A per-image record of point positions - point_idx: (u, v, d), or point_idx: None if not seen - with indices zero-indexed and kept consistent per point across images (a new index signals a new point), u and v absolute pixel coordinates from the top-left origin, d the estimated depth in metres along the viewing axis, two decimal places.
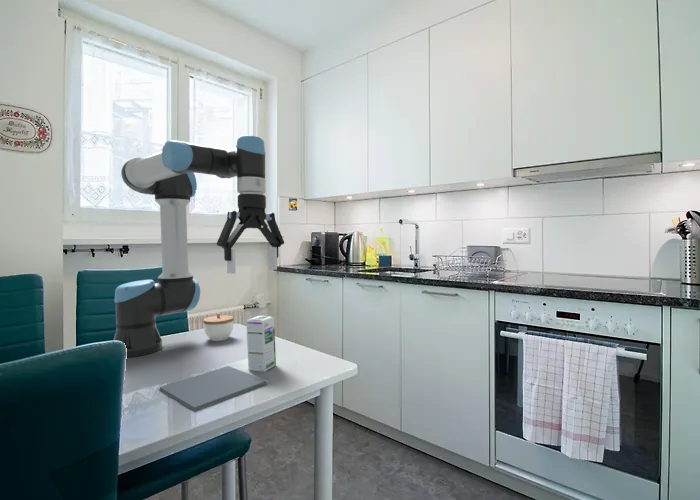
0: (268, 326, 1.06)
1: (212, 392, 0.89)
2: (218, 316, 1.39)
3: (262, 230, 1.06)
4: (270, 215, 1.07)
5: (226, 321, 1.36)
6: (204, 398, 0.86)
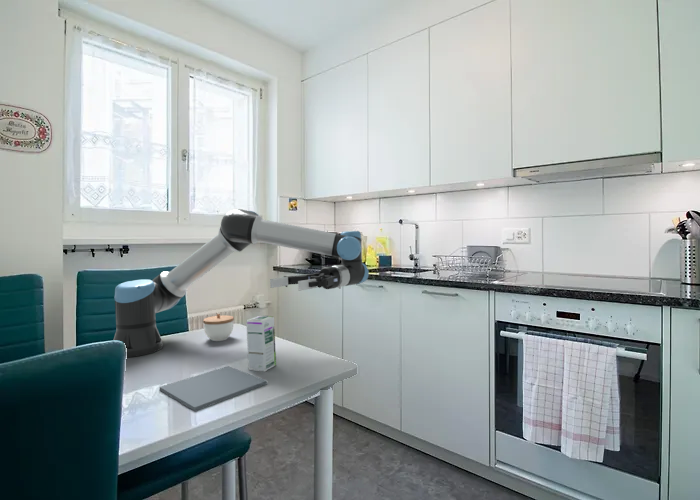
0: (268, 326, 1.06)
1: (212, 392, 0.89)
2: (218, 316, 1.39)
3: (305, 279, 1.24)
4: None
5: (226, 321, 1.36)
6: (204, 398, 0.86)
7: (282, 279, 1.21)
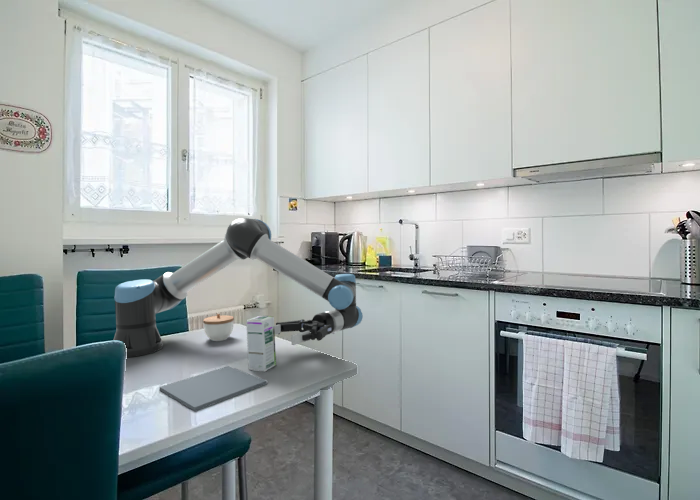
0: (268, 326, 1.06)
1: (212, 392, 0.89)
2: (218, 316, 1.39)
3: (298, 326, 1.21)
4: None
5: (226, 321, 1.36)
6: (204, 398, 0.86)
7: (275, 327, 1.18)
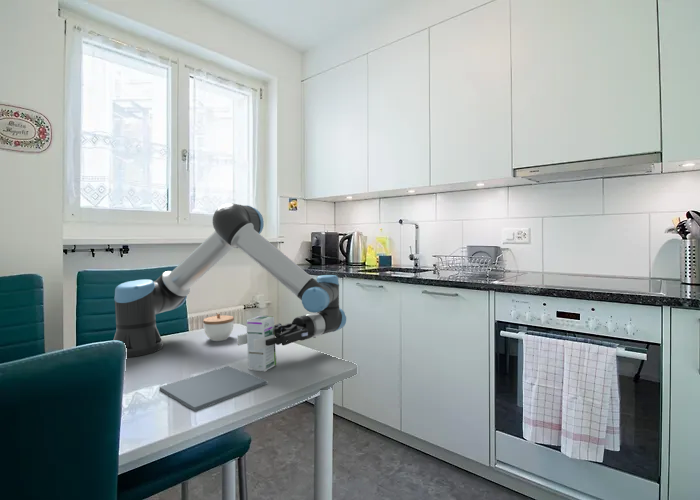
0: (268, 326, 1.06)
1: (212, 392, 0.89)
2: (218, 316, 1.39)
3: (277, 331, 1.14)
4: None
5: (226, 321, 1.36)
6: (204, 398, 0.86)
7: None
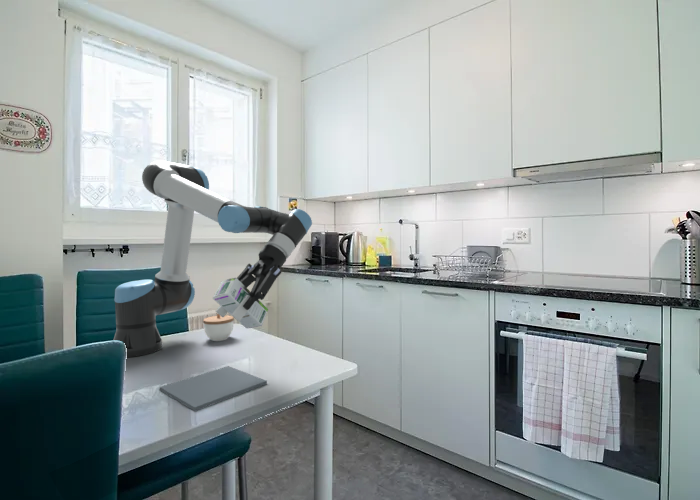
0: (237, 291, 0.97)
1: (212, 392, 0.89)
2: (218, 316, 1.39)
3: (250, 278, 1.06)
4: None
5: (226, 321, 1.36)
6: (204, 398, 0.86)
7: None
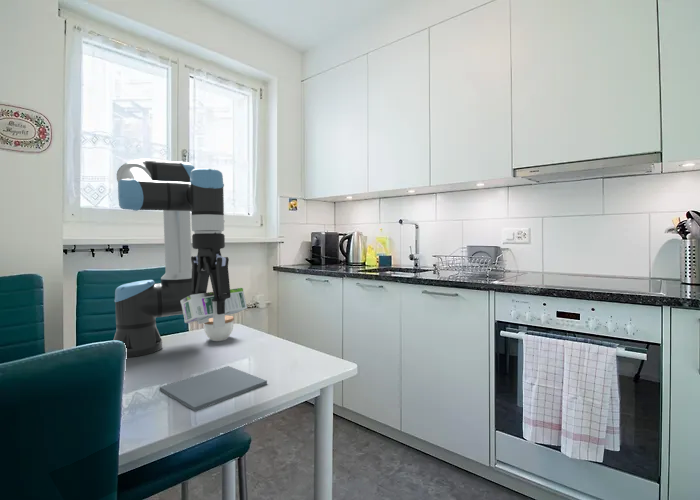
0: (201, 305, 0.89)
1: (212, 392, 0.89)
2: None
3: (204, 274, 0.94)
4: None
5: (226, 321, 1.36)
6: (204, 398, 0.86)
7: None
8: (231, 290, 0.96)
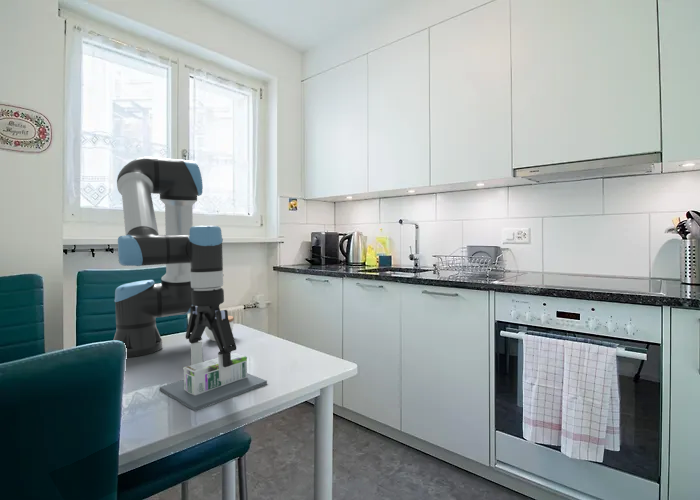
0: (203, 381, 0.88)
1: (212, 392, 0.89)
2: None
3: (201, 326, 0.95)
4: None
5: None
6: (204, 398, 0.86)
7: (194, 352, 0.97)
8: (235, 361, 0.95)
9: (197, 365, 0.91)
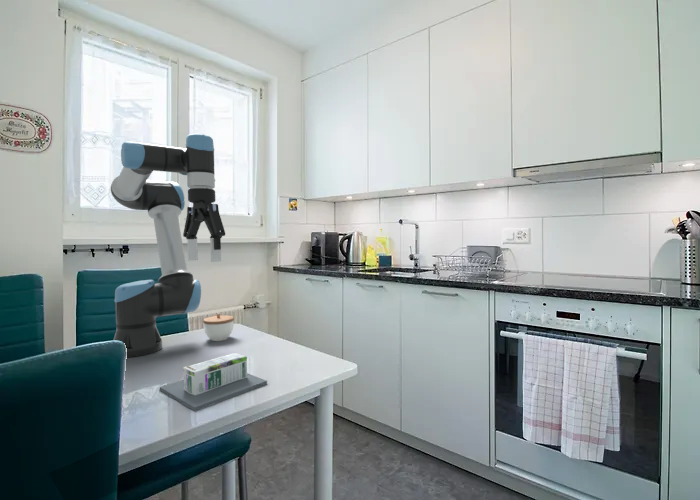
0: (203, 381, 0.88)
1: (212, 392, 0.89)
2: (218, 316, 1.39)
3: (196, 223, 1.13)
4: None
5: (226, 321, 1.36)
6: (204, 398, 0.86)
7: (190, 246, 1.14)
8: (235, 361, 0.95)
9: (197, 365, 0.91)
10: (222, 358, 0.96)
